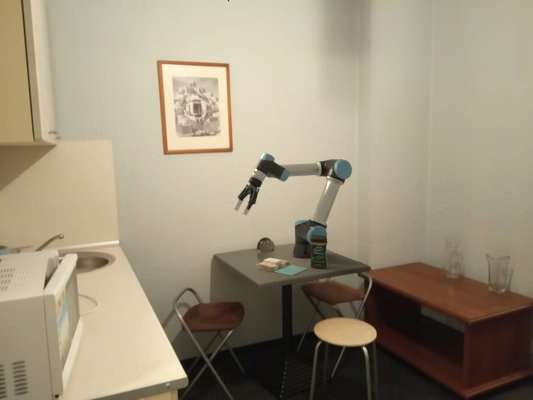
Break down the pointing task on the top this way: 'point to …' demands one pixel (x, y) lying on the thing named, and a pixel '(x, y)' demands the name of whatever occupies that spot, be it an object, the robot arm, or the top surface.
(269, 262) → the card
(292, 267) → the mat
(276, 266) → the tan flat block
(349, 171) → the robot arm
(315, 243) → the coffee jar
